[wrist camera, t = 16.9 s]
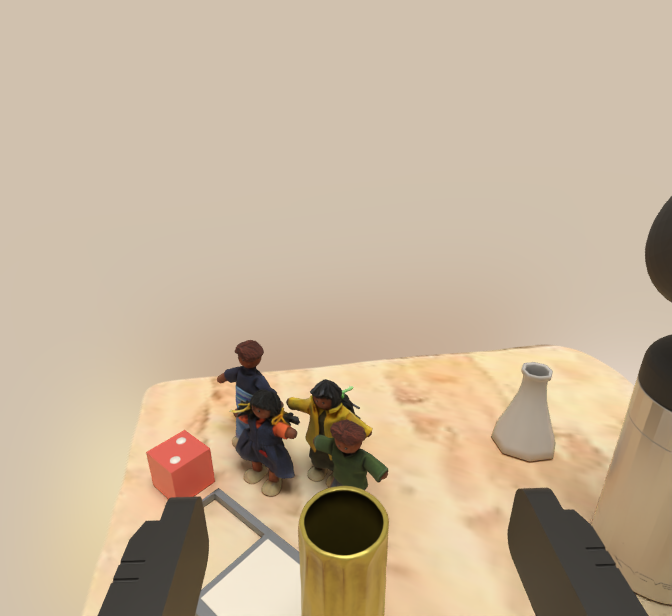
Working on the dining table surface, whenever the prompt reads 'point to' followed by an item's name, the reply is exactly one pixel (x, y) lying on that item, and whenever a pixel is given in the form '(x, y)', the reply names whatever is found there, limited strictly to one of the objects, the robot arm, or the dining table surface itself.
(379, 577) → the vase
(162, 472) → the red die
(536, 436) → the flask
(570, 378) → the dining table surface
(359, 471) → the doll family
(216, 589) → the game board
